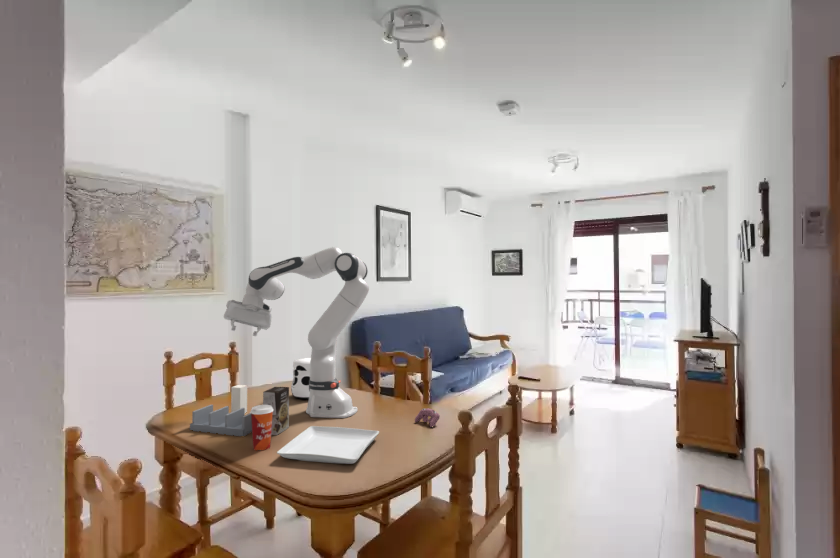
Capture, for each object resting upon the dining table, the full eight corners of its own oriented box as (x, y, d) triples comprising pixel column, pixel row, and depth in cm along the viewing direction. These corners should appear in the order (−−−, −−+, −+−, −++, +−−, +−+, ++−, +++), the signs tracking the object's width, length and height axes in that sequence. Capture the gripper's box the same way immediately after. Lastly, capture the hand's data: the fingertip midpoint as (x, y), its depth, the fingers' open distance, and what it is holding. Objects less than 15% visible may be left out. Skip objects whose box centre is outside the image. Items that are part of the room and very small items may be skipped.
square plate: (357, 470, 136) (357, 458, 136) (274, 463, 141) (275, 451, 141) (380, 439, 162) (380, 428, 162) (310, 434, 167) (310, 424, 167)
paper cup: (259, 453, 148) (260, 411, 148) (245, 448, 152) (245, 408, 152) (278, 446, 154) (278, 406, 154) (264, 441, 158) (264, 402, 158)
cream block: (247, 412, 192) (247, 385, 192) (240, 416, 188) (240, 387, 188) (238, 412, 193) (238, 384, 193) (231, 415, 189) (231, 387, 189)
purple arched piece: (437, 430, 177) (442, 412, 179) (430, 427, 174) (436, 409, 176) (419, 424, 183) (424, 407, 186) (412, 421, 180) (418, 404, 183)
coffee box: (277, 435, 165) (277, 392, 165) (262, 434, 166) (262, 391, 166) (289, 427, 174) (289, 386, 174) (274, 426, 175) (274, 385, 175)
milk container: (334, 395, 223) (334, 359, 223) (309, 403, 208) (309, 365, 208) (309, 390, 231) (309, 356, 231) (283, 398, 217) (283, 361, 217)
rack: (262, 426, 175) (262, 408, 175) (243, 436, 163) (243, 417, 163) (212, 420, 181) (212, 403, 181) (189, 430, 170) (189, 412, 170)
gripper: (229, 296, 196) (221, 324, 189) (275, 309, 205) (268, 336, 198) (226, 301, 200) (218, 329, 193) (271, 313, 210) (264, 340, 202)
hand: (243, 333), depth 196 cm, fingers open, 8 cm apart
